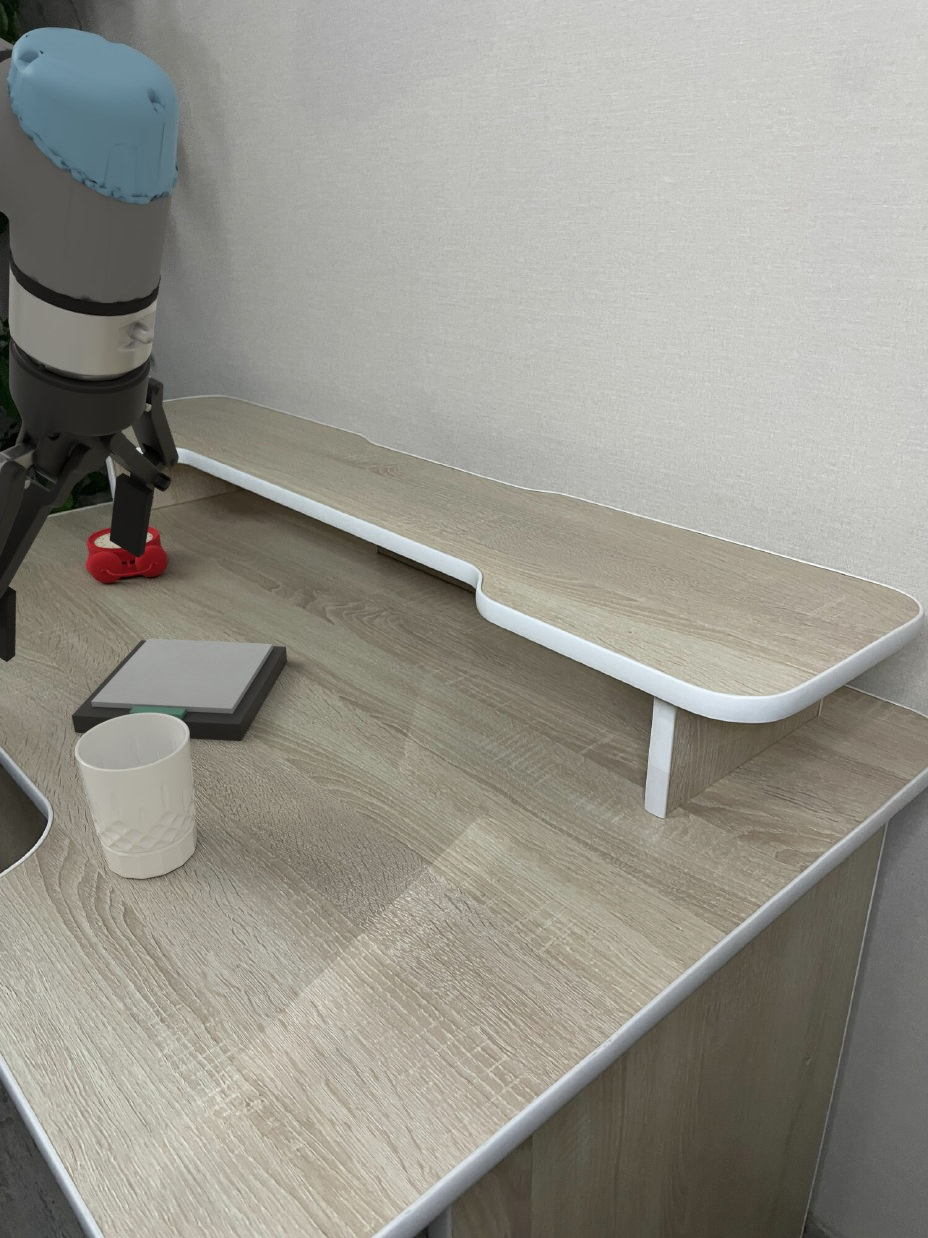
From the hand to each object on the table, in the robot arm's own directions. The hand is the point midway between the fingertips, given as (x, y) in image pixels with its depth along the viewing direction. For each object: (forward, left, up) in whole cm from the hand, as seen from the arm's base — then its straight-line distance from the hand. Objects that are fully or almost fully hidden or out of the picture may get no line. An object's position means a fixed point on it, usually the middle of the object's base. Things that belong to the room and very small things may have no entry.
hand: (65, 594), depth 68 cm
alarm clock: (-21, +52, -20) cm, 59 cm away
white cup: (+5, -4, -20) cm, 21 cm away
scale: (-1, +20, -19) cm, 28 cm away
